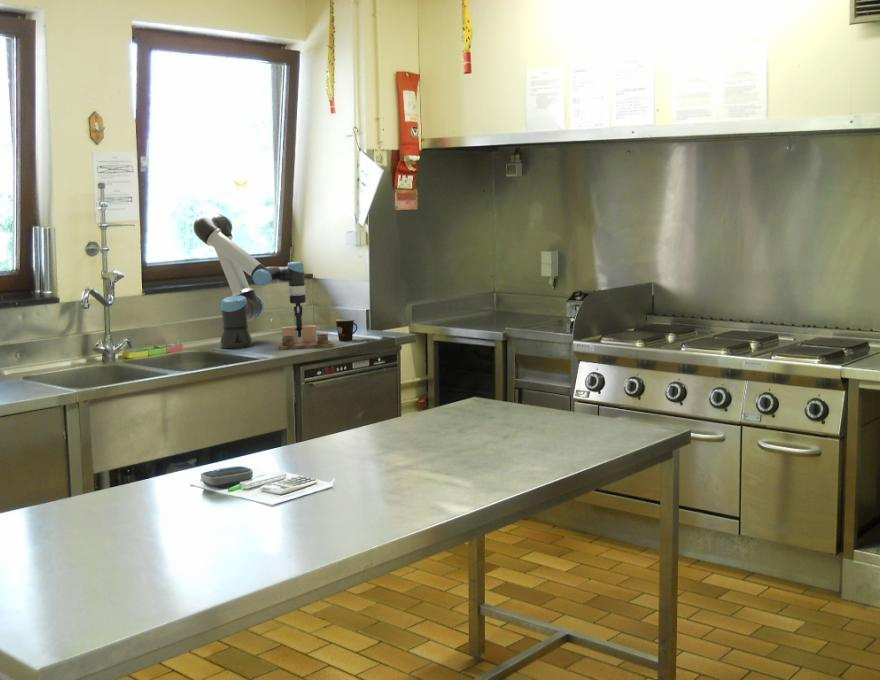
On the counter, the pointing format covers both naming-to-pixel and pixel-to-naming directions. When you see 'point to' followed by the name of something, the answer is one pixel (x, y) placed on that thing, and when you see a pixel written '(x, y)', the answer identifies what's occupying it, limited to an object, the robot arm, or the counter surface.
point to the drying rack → (305, 343)
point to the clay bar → (307, 332)
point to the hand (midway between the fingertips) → (300, 342)
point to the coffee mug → (345, 329)
